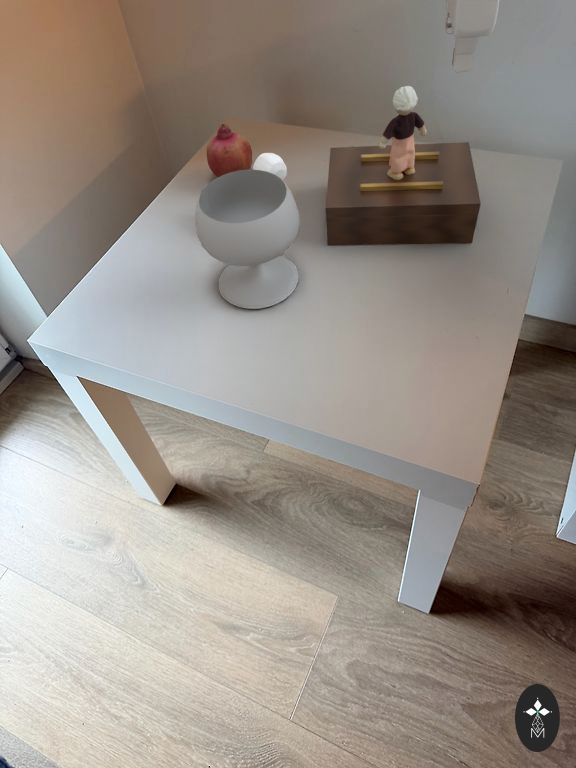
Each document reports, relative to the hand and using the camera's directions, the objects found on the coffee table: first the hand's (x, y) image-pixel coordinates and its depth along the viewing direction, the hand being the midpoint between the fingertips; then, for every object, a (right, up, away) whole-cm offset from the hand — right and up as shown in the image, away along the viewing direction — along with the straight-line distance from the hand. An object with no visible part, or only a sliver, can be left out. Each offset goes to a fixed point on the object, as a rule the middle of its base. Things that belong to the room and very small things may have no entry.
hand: (457, 49), depth 58 cm
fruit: (-28, +1, +40) cm, 49 cm away
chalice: (-23, -21, +23) cm, 39 cm away
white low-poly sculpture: (-24, -8, +33) cm, 42 cm away
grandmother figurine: (-1, -4, +24) cm, 25 cm away
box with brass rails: (-1, -8, +30) cm, 31 cm away
